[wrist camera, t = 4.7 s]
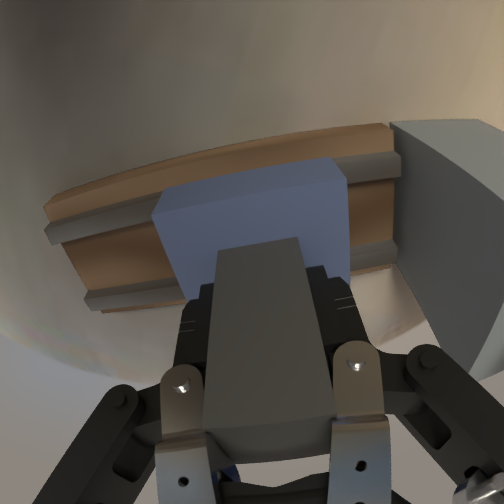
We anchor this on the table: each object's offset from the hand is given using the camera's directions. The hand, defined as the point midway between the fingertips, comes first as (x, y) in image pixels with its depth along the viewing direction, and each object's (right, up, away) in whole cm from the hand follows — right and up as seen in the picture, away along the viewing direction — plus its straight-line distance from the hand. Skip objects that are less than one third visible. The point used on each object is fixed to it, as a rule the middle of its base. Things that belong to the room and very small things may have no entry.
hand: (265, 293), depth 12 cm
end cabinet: (+10, +5, +4) cm, 12 cm away
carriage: (0, +2, +3) cm, 4 cm away
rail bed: (-2, +3, +5) cm, 6 cm away
